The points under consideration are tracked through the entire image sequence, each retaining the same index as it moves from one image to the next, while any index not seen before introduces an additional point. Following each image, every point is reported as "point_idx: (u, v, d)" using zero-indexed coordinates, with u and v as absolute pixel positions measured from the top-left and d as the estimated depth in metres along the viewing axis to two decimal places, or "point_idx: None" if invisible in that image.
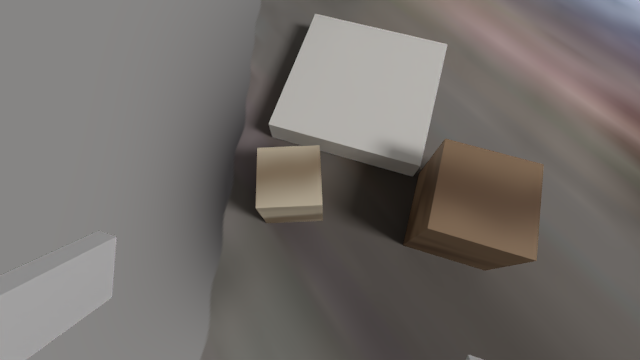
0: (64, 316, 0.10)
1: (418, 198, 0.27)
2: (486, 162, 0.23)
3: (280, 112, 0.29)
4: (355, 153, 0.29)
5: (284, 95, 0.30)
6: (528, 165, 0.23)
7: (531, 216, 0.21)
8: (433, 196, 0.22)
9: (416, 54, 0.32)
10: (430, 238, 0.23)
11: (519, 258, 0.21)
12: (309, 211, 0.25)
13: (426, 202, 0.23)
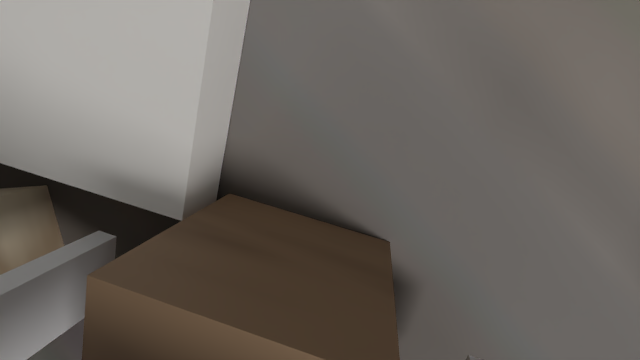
0: (64, 316, 0.10)
1: None
2: None
3: None
4: None
5: None
6: None
7: None
8: None
9: None
10: None
11: None
12: None
13: None
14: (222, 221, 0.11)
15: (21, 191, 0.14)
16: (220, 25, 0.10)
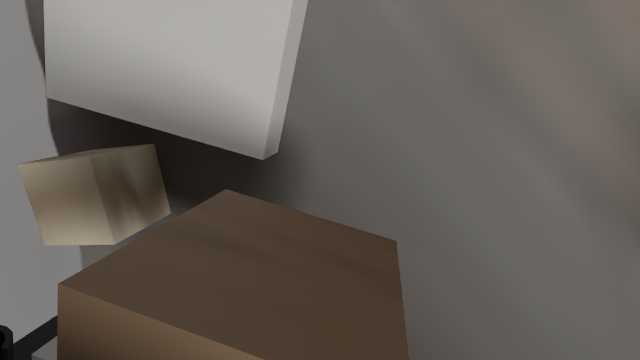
0: None
1: None
2: None
3: (54, 74, 0.19)
4: None
5: (49, 39, 0.18)
6: None
7: None
8: None
9: None
10: None
11: None
12: None
13: None
14: (215, 221, 0.10)
15: (141, 146, 0.20)
16: (291, 31, 0.16)
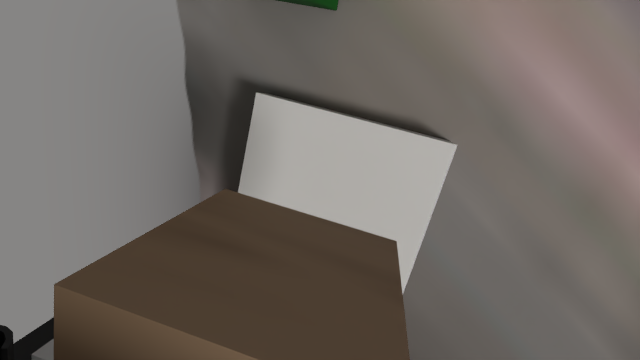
0: None
1: None
2: None
3: None
4: None
5: None
6: None
7: None
8: None
9: (405, 166, 0.22)
10: None
11: None
12: None
13: None
14: (214, 220, 0.10)
15: None
16: None
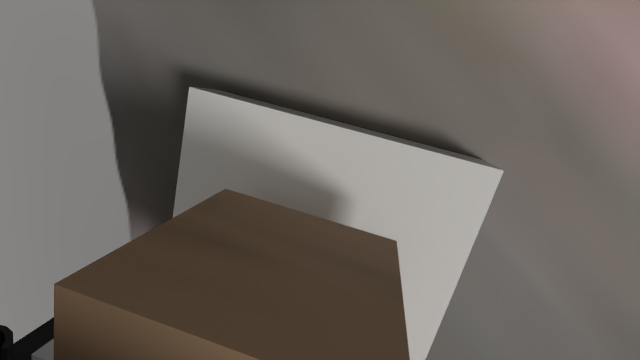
0: None
1: None
2: None
3: None
4: None
5: None
6: None
7: None
8: None
9: (419, 202, 0.14)
10: None
11: None
12: None
13: None
14: (214, 220, 0.10)
15: None
16: None
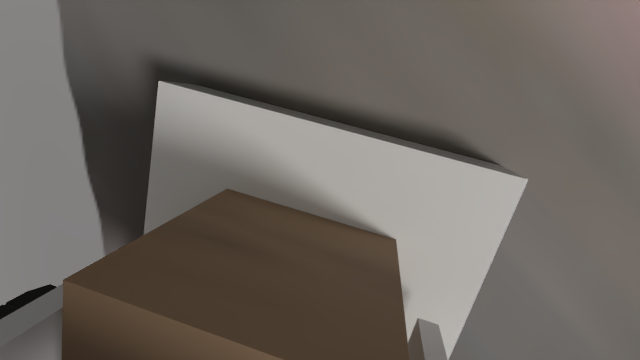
0: None
1: None
2: None
3: None
4: None
5: None
6: None
7: None
8: None
9: (427, 216, 0.12)
10: None
11: None
12: None
13: None
14: (217, 219, 0.10)
15: None
16: None
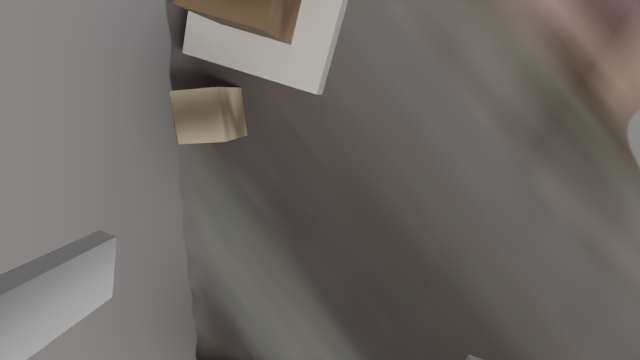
0: (64, 316, 0.10)
1: None
2: None
3: (190, 38, 0.31)
4: None
5: (190, 17, 0.30)
6: None
7: None
8: None
9: None
10: (200, 14, 0.25)
11: (256, 29, 0.23)
12: None
13: None
14: None
15: None
16: (338, 18, 0.28)
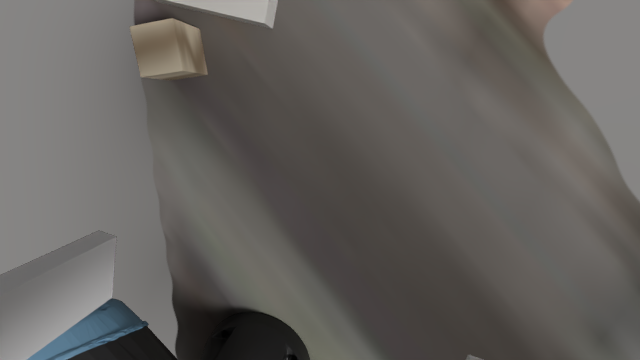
0: (64, 316, 0.10)
1: None
2: None
3: None
4: (218, 14, 0.34)
5: None
6: None
7: None
8: None
9: None
10: None
11: None
12: (183, 73, 0.34)
13: None
14: None
15: (193, 27, 0.35)
16: None
